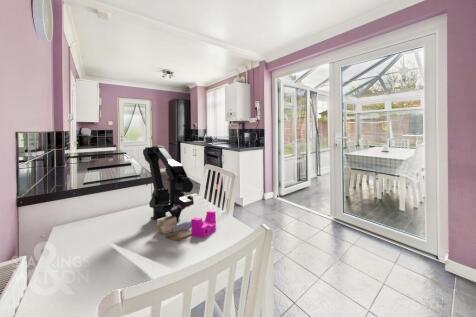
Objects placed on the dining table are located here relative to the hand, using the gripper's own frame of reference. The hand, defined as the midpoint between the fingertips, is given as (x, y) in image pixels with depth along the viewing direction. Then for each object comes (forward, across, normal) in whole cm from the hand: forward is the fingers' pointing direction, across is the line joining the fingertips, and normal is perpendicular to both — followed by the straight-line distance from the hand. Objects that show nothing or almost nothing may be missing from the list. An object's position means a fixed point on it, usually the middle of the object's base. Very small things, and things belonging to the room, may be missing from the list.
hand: (176, 222), depth 103 cm
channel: (+2, 0, 0) cm, 3 cm away
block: (+2, -6, 0) cm, 6 cm away
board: (+2, -6, -9) cm, 11 cm away
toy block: (+3, +4, -16) cm, 17 cm away
